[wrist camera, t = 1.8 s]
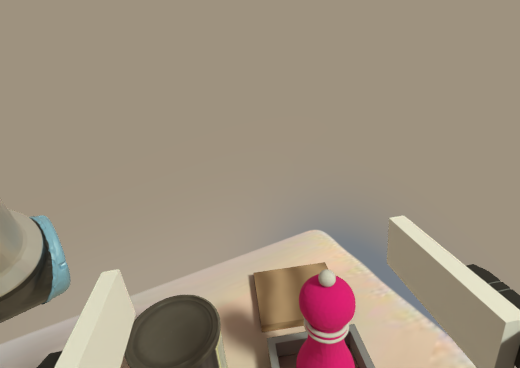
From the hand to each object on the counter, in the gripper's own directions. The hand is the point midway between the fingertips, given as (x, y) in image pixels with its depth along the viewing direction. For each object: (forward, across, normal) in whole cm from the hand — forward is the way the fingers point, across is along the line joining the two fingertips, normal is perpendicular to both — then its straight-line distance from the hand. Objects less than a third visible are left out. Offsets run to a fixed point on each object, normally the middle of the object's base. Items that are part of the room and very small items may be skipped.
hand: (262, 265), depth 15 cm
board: (+29, +7, -31) cm, 43 cm away
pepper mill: (+14, +7, -32) cm, 36 cm away
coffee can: (+15, -10, -32) cm, 36 cm away
